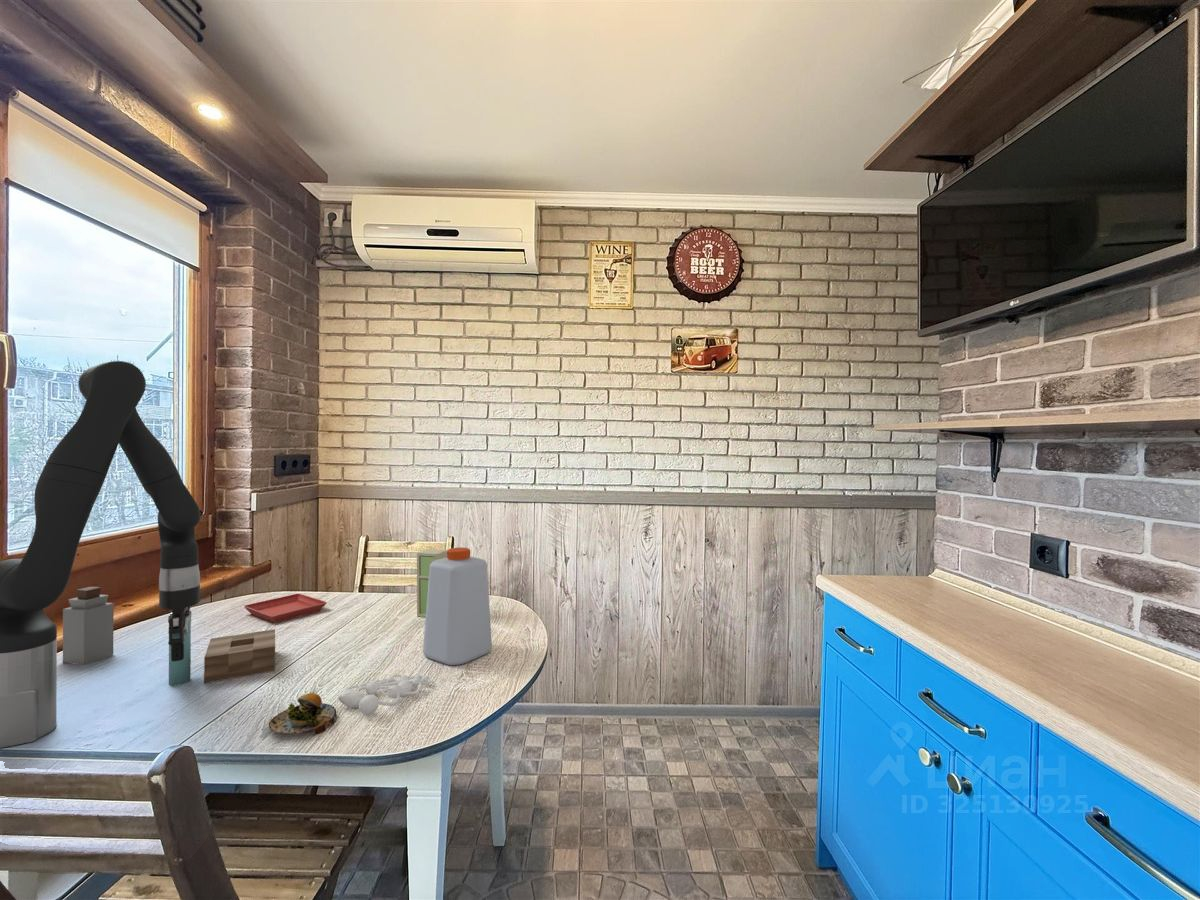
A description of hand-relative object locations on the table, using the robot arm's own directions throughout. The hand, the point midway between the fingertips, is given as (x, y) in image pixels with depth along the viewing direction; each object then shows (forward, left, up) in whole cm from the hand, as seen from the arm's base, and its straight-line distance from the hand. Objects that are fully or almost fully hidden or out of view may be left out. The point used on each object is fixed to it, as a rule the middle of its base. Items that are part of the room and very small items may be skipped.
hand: (180, 653), depth 125 cm
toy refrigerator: (+21, -63, -7) cm, 67 cm away
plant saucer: (+47, -22, -7) cm, 52 cm away
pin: (0, 0, -6) cm, 6 cm away
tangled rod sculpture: (-32, -40, -7) cm, 51 cm away
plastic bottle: (-15, -61, -7) cm, 63 cm away
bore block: (+3, -12, -6) cm, 14 cm away
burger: (-36, -24, -7) cm, 44 cm away
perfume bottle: (+28, +22, -7) cm, 36 cm away
